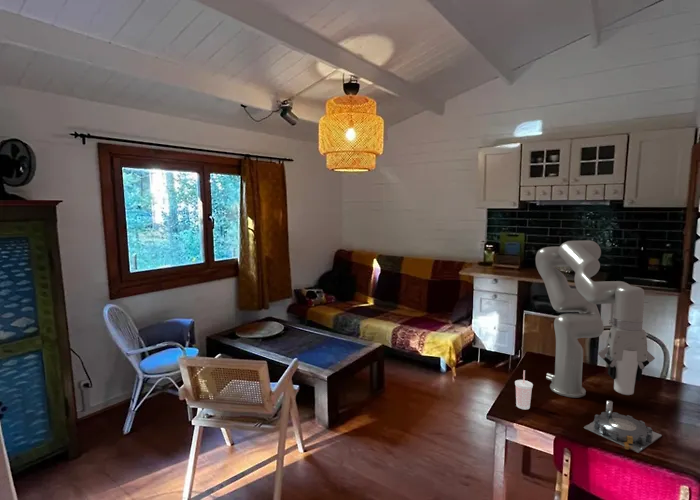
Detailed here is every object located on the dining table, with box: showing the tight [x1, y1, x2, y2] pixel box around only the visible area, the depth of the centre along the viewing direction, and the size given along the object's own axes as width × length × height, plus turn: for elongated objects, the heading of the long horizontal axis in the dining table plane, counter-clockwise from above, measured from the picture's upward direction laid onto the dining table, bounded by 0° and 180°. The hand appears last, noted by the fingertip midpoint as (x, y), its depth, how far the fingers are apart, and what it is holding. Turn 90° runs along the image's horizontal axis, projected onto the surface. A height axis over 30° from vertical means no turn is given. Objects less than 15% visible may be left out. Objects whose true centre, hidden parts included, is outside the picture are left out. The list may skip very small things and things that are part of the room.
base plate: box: [583, 421, 663, 453], centre depth 128 cm, size 16×18×1 cm
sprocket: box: [593, 400, 653, 444], centre depth 129 cm, size 16×16×7 cm
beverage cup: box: [514, 369, 534, 410], centre depth 146 cm, size 6×6×14 cm
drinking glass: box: [613, 350, 638, 396], centre depth 127 cm, size 7×7×15 cm
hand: (624, 377), depth 127 cm, fingers closed on drinking glass, 6 cm apart
